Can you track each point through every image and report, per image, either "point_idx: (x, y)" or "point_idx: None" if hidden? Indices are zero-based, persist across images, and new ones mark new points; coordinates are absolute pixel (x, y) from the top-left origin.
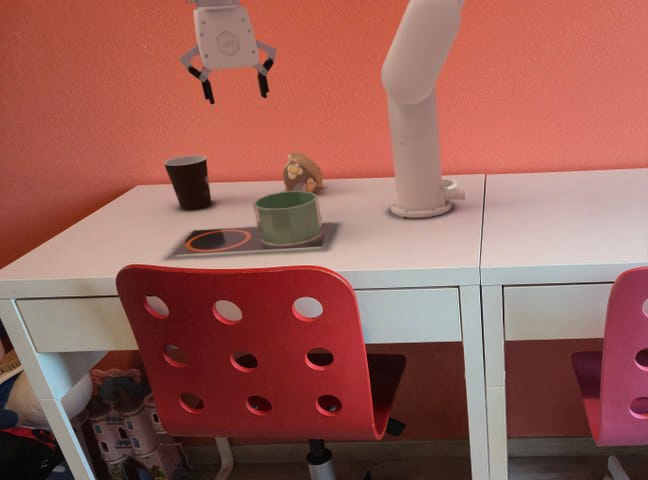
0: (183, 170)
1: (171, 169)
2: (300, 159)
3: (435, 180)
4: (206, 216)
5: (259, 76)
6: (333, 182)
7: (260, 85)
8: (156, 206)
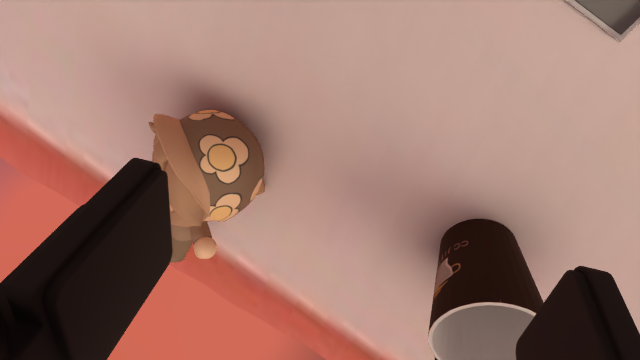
0: (525, 296)
1: None
2: (186, 167)
3: None
4: (504, 156)
5: (53, 319)
6: None
7: (116, 255)
8: None
